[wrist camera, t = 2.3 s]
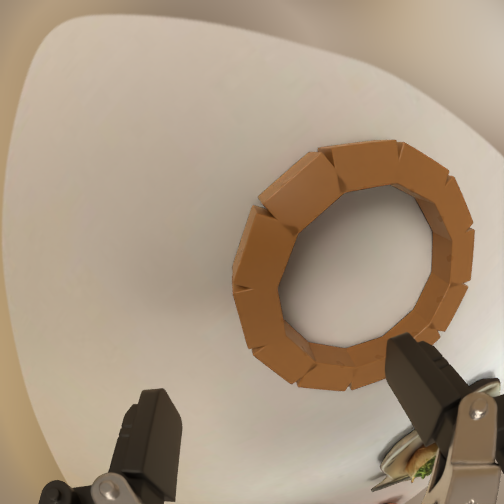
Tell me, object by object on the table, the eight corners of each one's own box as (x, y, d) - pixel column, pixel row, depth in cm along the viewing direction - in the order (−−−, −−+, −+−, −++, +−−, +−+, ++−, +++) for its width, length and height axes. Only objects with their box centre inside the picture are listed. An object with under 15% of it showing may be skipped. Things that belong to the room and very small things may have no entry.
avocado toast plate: (382, 490, 28) (391, 512, 24) (340, 463, 23) (352, 498, 18) (490, 416, 26) (504, 435, 21) (495, 355, 20) (520, 380, 16)
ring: (178, 269, 15) (171, 287, 13) (381, 91, 12) (401, 85, 10) (330, 398, 19) (337, 417, 17) (474, 271, 16) (492, 282, 14)
